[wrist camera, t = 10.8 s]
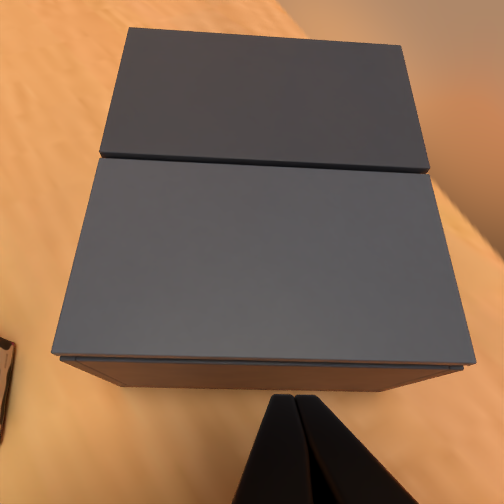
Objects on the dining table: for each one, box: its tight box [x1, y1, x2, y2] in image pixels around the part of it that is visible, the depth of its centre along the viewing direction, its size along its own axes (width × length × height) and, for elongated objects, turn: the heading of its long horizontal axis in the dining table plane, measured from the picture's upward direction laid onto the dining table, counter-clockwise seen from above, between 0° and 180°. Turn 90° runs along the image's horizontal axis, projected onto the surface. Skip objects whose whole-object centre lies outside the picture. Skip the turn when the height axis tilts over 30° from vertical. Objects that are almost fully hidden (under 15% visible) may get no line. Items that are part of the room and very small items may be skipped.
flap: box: [51, 158, 476, 366], centre depth 13 cm, size 7×13×1 cm, turn 89°
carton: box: [60, 27, 464, 392], centre depth 18 cm, size 15×13×8 cm
